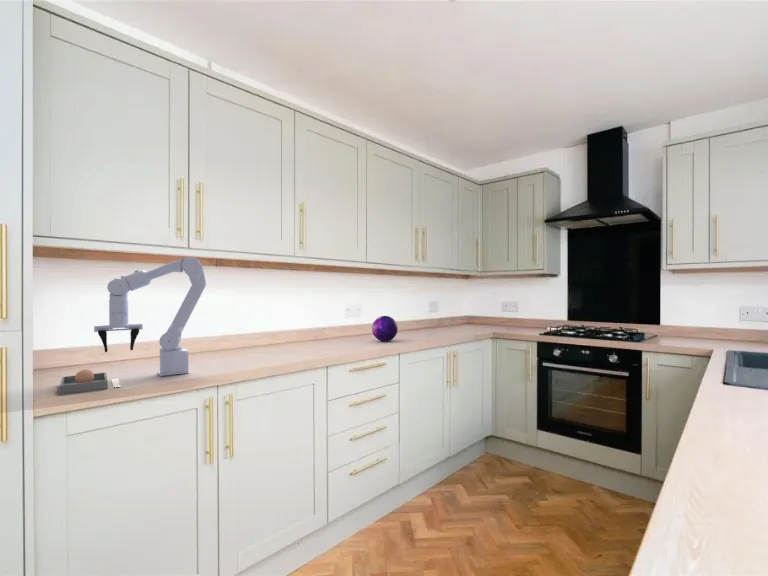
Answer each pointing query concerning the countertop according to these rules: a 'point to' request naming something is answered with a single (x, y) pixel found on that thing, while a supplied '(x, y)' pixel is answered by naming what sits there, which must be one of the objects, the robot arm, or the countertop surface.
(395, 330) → the decorative orb
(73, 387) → the tray
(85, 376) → the ball
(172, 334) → the robot arm
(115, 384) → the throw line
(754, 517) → the countertop surface
